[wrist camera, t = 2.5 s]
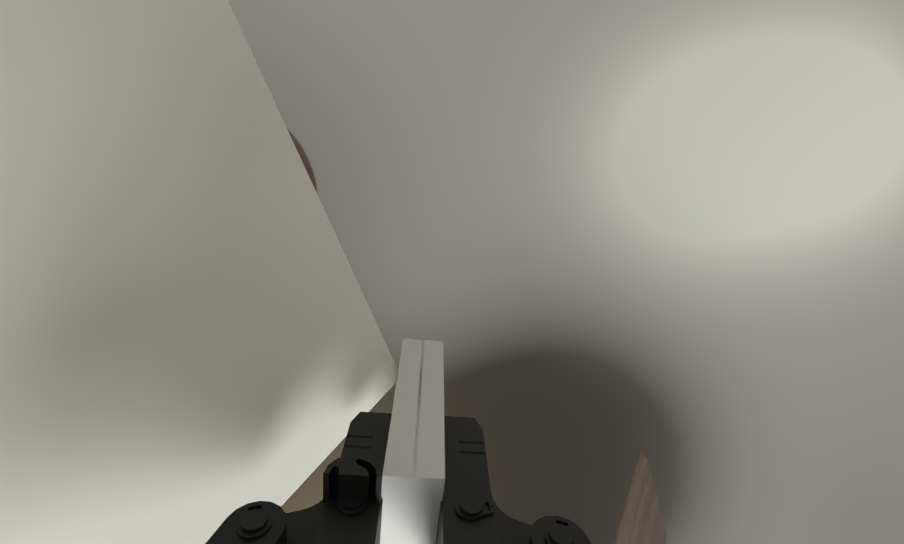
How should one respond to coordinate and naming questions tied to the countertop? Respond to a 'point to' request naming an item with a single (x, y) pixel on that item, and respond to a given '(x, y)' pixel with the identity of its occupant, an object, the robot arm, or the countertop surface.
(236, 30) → the c-shaped side table
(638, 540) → the countertop surface
